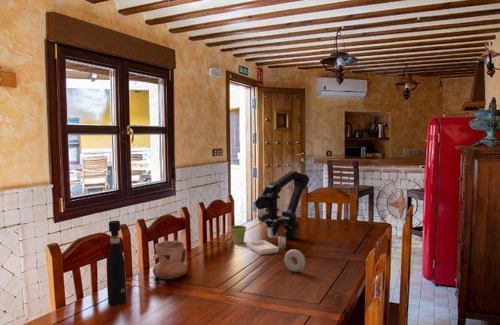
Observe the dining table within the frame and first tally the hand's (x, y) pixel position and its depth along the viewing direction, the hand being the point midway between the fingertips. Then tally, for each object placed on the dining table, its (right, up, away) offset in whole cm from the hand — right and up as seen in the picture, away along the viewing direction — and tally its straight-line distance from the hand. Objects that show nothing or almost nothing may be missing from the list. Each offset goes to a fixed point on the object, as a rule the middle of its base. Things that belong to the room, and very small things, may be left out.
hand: (272, 234), depth 225 cm
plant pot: (-19, -5, +3) cm, 20 cm away
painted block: (0, -1, 0) cm, 1 cm away
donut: (+7, -8, -46) cm, 47 cm away
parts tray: (-6, -6, -12) cm, 14 cm away
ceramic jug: (-47, -9, -49) cm, 68 cm away
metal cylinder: (+5, -6, -9) cm, 11 cm away
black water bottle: (-61, -12, -76) cm, 98 cm away
